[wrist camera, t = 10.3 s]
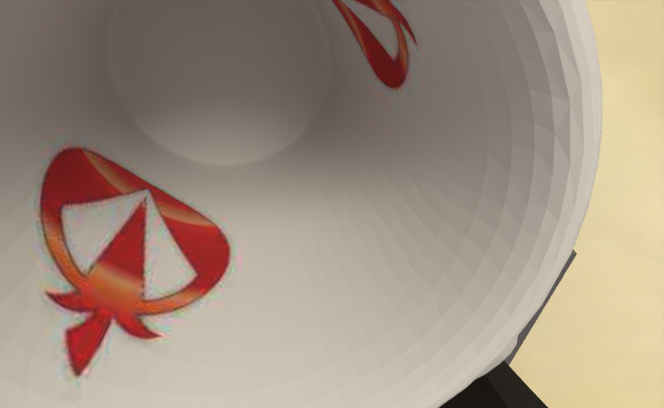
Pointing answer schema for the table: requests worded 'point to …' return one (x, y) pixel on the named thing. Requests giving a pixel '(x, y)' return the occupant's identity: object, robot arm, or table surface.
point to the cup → (284, 196)
